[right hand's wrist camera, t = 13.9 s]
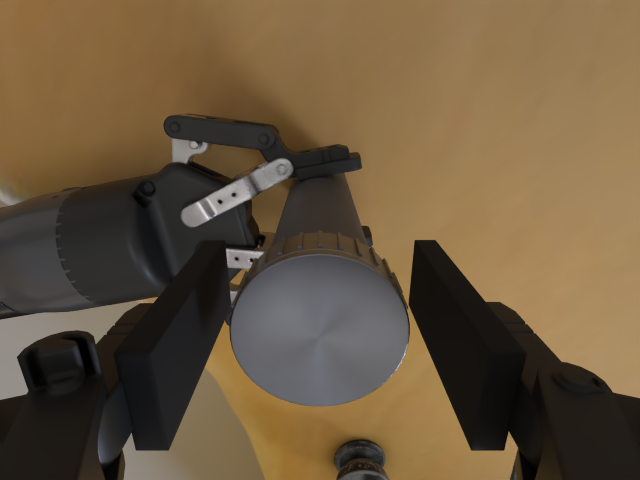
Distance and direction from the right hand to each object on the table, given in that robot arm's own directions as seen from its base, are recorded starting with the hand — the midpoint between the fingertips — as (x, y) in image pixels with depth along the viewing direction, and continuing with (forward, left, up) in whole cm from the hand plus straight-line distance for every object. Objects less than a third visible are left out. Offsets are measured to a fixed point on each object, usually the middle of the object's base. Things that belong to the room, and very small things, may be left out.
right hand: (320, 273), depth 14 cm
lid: (0, 0, +4) cm, 4 cm away
